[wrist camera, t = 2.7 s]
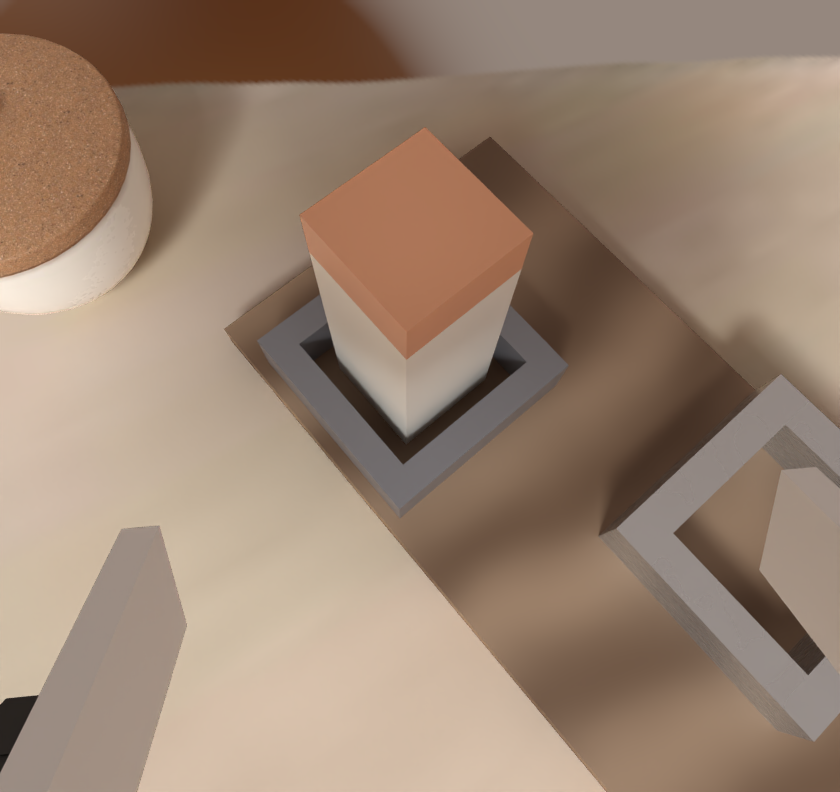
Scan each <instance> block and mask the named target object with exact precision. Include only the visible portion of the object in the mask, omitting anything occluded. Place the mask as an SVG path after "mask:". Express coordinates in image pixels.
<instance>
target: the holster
mask: <svg viewBox="0 0 840 792" xmlns="http://www.w3.org/2000/svg"><path fill="white" fill-rule="evenodd" d="M257 341H258V343H259V345H260V347H261V349H262V351H263V353H264V354H265V356H266V358H267V360H268V362H269V363H270V365H271V366H272V367H273V368H274V369H275V371H276V372H277V373H278V374H279V375H280V376H281V378H282V379H283V380H284V381H285V382H286V384H287V385H288V386H289V387H290V388H291V390H292V391H293V392H294V393H295V394H296V396H297V397H298V398H299V399H300V400H301V401H302V403H303V404H304V405H305V406H306V407H307V409H308V410H309V411H310V412H311V413H312V415H313V416H314V417H315V418H316V419H317V421H318V422H319V423H320V424H321V425H322V426H323V428H324V429H325V430H326V431H327V432H328V434H329V435H330V436H331V437H332V438H333V440H334V441H335V442H336V443H337V444H338V445H339V447H340V448H341V449H342V450H343V451H344V453H345V454H346V455H347V456H348V457H349V459H350V460H351V461H352V462H353V463H354V465H355V466H356V467H357V468H358V469H359V470H360V472H361V473H362V474H363V475H364V476H365V478H366V479H367V480H368V481H369V482H370V484H371V485H372V486H373V487H374V488H375V490H376V491H377V492H378V493H379V494H380V495H381V497H382V498H383V499H384V500H385V501H386V503H387V504H388V505H389V506H390V507H391V509H392V510H393V511H394V512H395V513H396V515H397V516H398V517H399V518H401V517H402V516H403V515H404V514H406V513H407V512H408V511H409V510H410V509H412V508H413V507H414V506H415V505H416V504H417V503H419V502H420V501H421V500H422V499H423V498H424V497H426V496H427V495H428V494H429V493H430V492H431V491H433V490H434V489H435V488H436V487H437V486H439V485H440V484H441V483H442V482H443V481H444V480H446V479H447V478H448V477H449V476H450V475H451V474H453V473H454V472H455V471H456V470H457V469H458V468H460V467H461V466H462V465H463V464H464V463H466V462H467V461H468V460H469V459H470V458H471V457H473V456H474V455H475V454H476V453H477V452H478V451H480V450H481V449H482V448H483V447H484V446H485V445H487V444H488V443H489V442H490V441H491V440H492V439H494V438H495V437H496V436H497V435H498V434H500V433H501V432H502V431H503V430H504V429H505V428H507V427H508V426H509V425H510V424H511V423H512V422H514V421H515V420H516V419H517V418H518V417H519V416H521V415H522V414H523V413H524V412H525V411H527V410H528V409H529V408H530V407H531V406H532V405H534V404H535V403H536V402H537V401H538V400H539V399H541V398H542V397H543V396H544V395H545V394H546V393H548V392H549V391H550V390H551V389H552V388H554V387H555V386H556V385H557V383H558V381H559V380H560V378H561V377H562V375H563V374H564V372H565V371H566V369H567V368H568V366H569V365H568V364H567V363H566V362H565V361H564V360H563V359H562V358H561V357H560V356H559V355H558V354H557V353H556V352H555V351H554V350H553V349H552V348H551V346H550V345H549V344H548V343H547V342H546V341H545V340H544V339H543V338H542V337H541V336H540V335H539V334H538V333H537V332H536V331H535V330H534V329H533V328H532V327H531V326H530V325H529V324H528V323H527V322H526V321H525V320H524V319H523V318H522V317H521V316H520V315H519V314H518V313H517V312H516V311H515V310H514V309H513V307H512V306H511V305H510V306H509V309H508V312H507V315H506V318H505V321H504V324H503V327H502V330H501V333H500V336H499V339H498V342H497V345H496V348H495V351H494V354H493V357H494V358H495V359H496V360H497V362H498V363H499V364H500V365H501V366H502V367H503V368H504V369H505V370H506V371H507V372H508V373H509V374H510V375H511V376H509V377H508V378H507V379H506V380H505V381H503V382H502V383H501V384H500V385H499V386H497V387H496V388H495V389H494V390H492V391H491V392H490V393H489V394H488V395H486V396H485V397H484V398H483V399H482V400H480V401H479V402H478V403H477V404H476V405H474V406H473V407H472V408H471V409H470V410H468V411H467V412H466V413H465V414H464V415H462V416H461V417H460V418H459V419H458V420H456V421H455V422H454V423H453V424H452V425H450V426H449V427H448V428H447V429H446V430H444V431H443V432H442V433H441V434H440V435H438V436H437V437H436V438H435V439H434V440H432V441H431V442H430V443H429V444H428V445H426V446H425V447H424V448H423V449H422V450H420V451H419V452H418V453H417V454H416V455H414V456H413V457H412V458H411V459H409V460H408V461H407V462H406V463H405V464H402V463H401V462H400V461H399V459H398V458H397V457H396V456H395V455H394V454H393V452H392V451H391V450H390V449H389V448H388V447H387V445H386V444H385V443H384V442H383V441H382V440H381V438H380V437H379V436H378V435H377V434H376V433H375V432H374V430H373V429H372V428H371V427H370V426H369V425H368V423H367V422H366V421H365V420H364V419H363V418H362V416H361V415H360V414H359V413H358V412H357V411H356V409H355V408H354V407H353V406H352V405H351V404H350V402H349V401H348V400H347V399H346V398H345V397H344V396H343V394H342V393H341V392H340V391H339V390H338V389H337V387H336V386H335V385H334V384H333V383H332V382H331V380H330V379H329V378H328V377H327V376H326V375H325V373H324V372H323V371H322V370H321V369H320V368H319V367H318V365H317V364H316V363H315V362H314V360H316V359H317V358H318V357H319V356H321V355H322V354H323V353H325V352H326V351H327V350H329V349H330V348H331V347H333V346H334V345H333V341H332V337H331V333H330V329H329V326H328V322H327V318H326V314H325V310H324V307H323V303H322V299H321V295H318V296H317V297H316V298H314V299H313V300H311V301H310V302H309V303H307V304H306V305H305V306H303V307H302V308H301V309H299V310H298V311H297V312H295V313H294V314H292V315H291V316H290V317H288V318H287V319H286V320H284V321H283V322H282V323H280V324H279V325H278V326H276V327H275V328H273V329H272V330H271V331H269V332H268V333H267V334H265V335H264V336H263V337H261V338H260V339H259V340H257Z"/></svg>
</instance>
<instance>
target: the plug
mask: <svg viewBox="0 0 840 792" xmlns="http://www.w3.org/2000/svg"><path fill="white" fill-rule="evenodd" d="M300 219H301V223H302V227H303V230H304V234H305V238H306V242H307V246H308V249H309V253H310V257H311V261H312V265H313V269H314V272H315V276H316V280H317V284H318V288H319V291H320V295H321V299H322V303H323V307H324V310H325V314H326V318H327V322H328V326H329V329H330V333H331V337H332V341H333V345H334V348H335V352H336V356H337V360H338V364H339V368H340V369H341V370H342V371H343V373H344V374H345V375H346V376H347V377H348V378H349V380H350V381H351V382H352V383H353V384H354V385H355V386H356V388H357V389H358V390H359V391H360V392H361V393H362V394H363V396H364V397H365V398H366V399H367V400H368V401H369V402H370V404H371V405H372V406H373V407H374V408H375V409H376V411H377V412H378V413H379V414H380V415H381V416H382V417H383V419H384V420H385V421H386V422H387V423H388V424H389V425H390V427H391V428H392V429H393V430H394V431H395V432H396V434H397V435H398V436H399V437H400V438H401V439H402V440H403V442H404V443H405V444H408V443H409V442H410V441H411V440H412V439H414V438H415V437H416V436H417V435H418V434H420V433H421V432H422V431H423V430H425V429H426V428H427V427H428V426H429V425H431V424H432V423H433V422H434V421H435V420H437V419H438V418H439V417H440V416H442V415H443V414H444V413H445V412H446V411H448V410H449V409H450V408H451V407H452V406H454V405H455V404H456V403H457V402H459V401H460V400H461V399H462V398H463V397H465V396H466V395H467V394H468V393H469V392H471V391H472V390H473V389H474V388H475V387H477V386H478V385H479V384H480V383H482V382H483V381H484V380H485V378H486V375H487V372H488V369H489V366H490V363H491V360H492V357H493V354H494V351H495V348H496V345H497V342H498V339H499V336H500V333H501V330H502V327H503V324H504V321H505V318H506V315H507V312H508V309H509V306H510V303H511V300H512V297H513V294H514V290H515V287H516V284H517V281H518V278H519V275H520V272H521V269H522V266H523V263H524V260H525V257H526V254H527V251H528V248H529V245H530V242H531V239H532V236H533V232H532V231H531V230H530V229H529V228H528V227H527V226H526V225H525V224H524V223H522V222H521V221H520V220H519V219H518V218H517V217H516V216H515V215H514V214H513V213H512V212H511V211H510V210H509V209H508V208H507V207H506V206H505V205H504V204H503V203H502V202H501V201H500V200H499V199H498V198H497V197H496V196H495V195H494V194H493V193H492V192H491V191H490V190H489V189H488V188H487V187H486V186H485V185H484V184H483V183H482V182H481V181H480V180H479V179H478V178H477V177H476V176H475V175H474V174H473V173H472V172H471V171H470V170H468V169H467V168H466V167H465V166H464V165H463V164H462V163H461V162H460V161H459V160H458V159H457V158H456V157H455V156H454V155H453V154H452V153H451V152H450V151H449V150H448V149H447V148H446V147H445V146H444V145H443V144H442V143H441V142H440V141H439V140H438V139H437V138H436V137H435V136H434V135H433V134H432V133H431V132H430V131H429V130H428V129H427V128H426V127H424V128H423V129H422V130H420V131H419V132H417V133H416V134H414V135H413V136H412V137H410V138H409V139H407V140H406V141H404V142H403V143H401V144H400V145H399V146H397V147H396V148H394V149H393V150H391V151H390V152H389V153H387V154H386V155H384V156H383V157H381V158H380V159H379V160H377V161H376V162H374V163H373V164H371V165H370V166H369V167H367V168H366V169H364V170H363V171H361V172H360V173H359V174H357V175H356V176H354V177H353V178H351V179H350V180H349V181H347V182H346V183H344V184H343V185H341V186H340V187H339V188H337V189H336V190H334V191H333V192H331V193H330V194H329V195H327V196H326V197H324V198H323V199H321V200H320V201H319V202H317V203H316V204H314V205H313V206H311V207H310V208H309V209H307V210H306V211H304V212H303V213H301V214H300Z"/></svg>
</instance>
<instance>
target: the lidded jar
mask: <svg viewBox="0 0 840 792" xmlns="http://www.w3.org/2000/svg"><path fill="white" fill-rule="evenodd" d="M152 207H153V197H152V190H151V184H150V178H149V173H148V170H147V167H146V164H145V161H144V158H143V155H142V152H141V149H140V147H139V144H138V142H137V140H136V138H135V135H134V133H133V131H132V129H131V128H130V126H129V124H128V122H127V119H126V116H125V113H124V110H123V108H122V105H121V104H120V102H119V100H118V98H117V96H116V95H115V93H114V91H113V89H112V88H111V86H110V84H109V83H108V81H107V80H106V79H105V77H104V76H103V75H102V74H101V73H100V72H99V70H98V69H97V68H96V67H95V66H94V65H92V64H91V63H89V61H87V60H86V59H85V58H84V57H82V56H81V55H79V54H77V53H75V52H73V51H72V50H70V49H68V48H66V47H64V46H62V45H59V44H56V43H54V42H51V41H48V40H45V39H41V38H36V37H32V36H28V35H18V34H0V311H1V312H6V313H16V314H28V315H37V314H50V313H56V312H61V311H66V310H70V309H73V308H76V307H79V306H82V305H85V304H87V303H89V302H91V301H93V300H95V299H97V298H99V297H101V296H102V295H104V294H105V293H107V292H108V291H110V290H111V289H113V288H114V287H115V286H116V285H117V284H118V283H119V282H121V281H122V280H123V279H124V278H125V276H126V275H127V274H128V273H129V272H130V271H131V269H132V268H133V267H134V265H135V264H136V262H137V260H138V259H139V257H140V255H141V253H142V251H143V249H144V247H145V244H146V242H147V239H148V236H149V232H150V228H151V223H152Z"/></svg>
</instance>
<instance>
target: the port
mask: <svg viewBox="0 0 840 792" xmlns="http://www.w3.org/2000/svg"><path fill="white" fill-rule="evenodd" d="M761 448H763V449H764V450H765V451H766V452H767V453H768V454H769V455H770V456H771V457H772V458H773V459H774V460H775V461H776V462H777V463H779V464H780V465H781V466H782V467H783V468H784V469H785V470H787V469H798V468H809V467H817V468H818V469H819V470H820V471H821V472H822V473H823V474H824V475H825V476H827V477H828V478H829V479H830V480H831V481H832V482H833V483H834V484H835V485H836V486H837V487H839V488H840V429H839V428H838V427H837V426H836V425H835V424H834V423H833V422H831V421H830V420H829V419H828V418H827V417H826V416H825V415H824V414H823V413H822V412H821V411H820V410H819V409H818V408H817V407H815V406H814V405H813V404H812V403H811V402H810V401H809V400H808V399H807V398H806V397H805V396H804V395H803V394H802V393H801V392H799V391H798V390H797V389H796V388H795V387H794V386H793V385H792V384H791V383H790V382H789V381H788V380H787V379H786V378H785V377H784V376H782V375H781V374H780V375H779V376H777V377H776V378H774V379H772V380H771V381H769V382H768V383H766V384H765V385H763V386H762V387H760V388H759V389H757V390H756V391H754V392H753V393H751V394H750V395H749V396H748V397H747V398H746V399H745V400H744V401H743V402H741V403H740V404H739V405H738V406H737V407H736V408H735V409H734V410H733V411H732V412H731V413H730V414H729V415H728V416H726V417H725V418H724V419H723V420H722V421H721V422H720V423H719V424H718V425H717V426H716V427H715V428H714V429H713V430H711V431H710V432H709V433H708V434H707V435H706V436H705V437H704V438H703V439H702V440H701V441H700V442H699V443H698V444H697V445H695V446H694V447H693V448H692V449H691V450H690V451H689V452H688V453H687V454H686V455H685V456H684V457H683V458H682V459H680V460H679V461H678V462H677V463H676V464H675V465H674V466H673V467H672V468H671V469H670V470H669V471H668V472H667V473H666V474H664V475H663V476H662V477H661V478H660V479H659V480H658V481H657V482H656V483H655V484H654V485H653V486H652V487H651V488H649V489H648V490H647V491H646V492H645V493H644V494H643V495H642V496H641V497H640V498H639V499H638V500H637V501H636V502H634V503H633V504H632V505H631V506H630V507H629V508H628V509H627V510H626V511H625V512H624V513H623V514H622V515H621V516H620V517H618V518H617V519H616V520H615V521H614V522H613V523H612V524H611V525H610V526H609V527H608V528H607V529H606V530H605V531H603V532H602V533H601V534H600V535H599V537H600V539H601V540H602V541H603V542H604V543H605V544H606V545H607V546H608V547H609V548H610V549H611V550H612V552H613V553H614V554H615V555H616V556H617V557H618V558H619V559H620V560H621V561H622V562H623V564H624V565H625V566H626V567H627V568H628V569H629V570H630V571H631V572H632V573H633V574H634V576H635V577H636V578H637V579H638V580H639V581H640V582H641V583H642V584H643V585H644V586H645V588H646V589H647V590H648V591H649V592H650V593H651V594H652V595H653V596H654V597H655V598H656V600H657V601H658V602H659V603H660V604H661V605H662V606H663V607H664V608H665V609H666V610H667V612H668V613H669V614H670V615H671V616H672V617H673V618H674V619H675V620H676V621H677V622H678V624H679V625H680V626H681V627H682V628H683V629H684V630H685V631H686V632H687V633H688V634H689V636H690V637H691V638H692V639H693V640H694V641H695V642H696V643H697V644H698V645H699V646H700V648H701V649H702V650H703V651H704V652H705V653H706V654H707V655H708V656H709V657H710V658H711V660H712V661H713V662H714V663H715V664H716V665H717V666H718V667H719V668H720V669H721V670H722V672H723V673H724V674H725V675H726V676H727V677H728V678H729V679H730V680H731V681H732V682H733V684H734V685H735V686H736V687H737V688H738V689H739V690H740V691H741V692H742V693H743V694H744V696H745V697H746V698H747V699H748V700H749V701H750V702H751V703H752V704H753V705H754V706H755V708H756V709H757V710H758V711H759V712H760V713H761V714H762V715H763V716H764V717H765V718H766V720H767V721H768V722H769V723H770V724H771V725H772V726H773V727H774V728H775V729H776V730H777V731H780V732H783V733H786V734H790V735H793V736H796V737H800V738H803V739H806V740H810V741H813V742H814V741H815V740H816V739H817V738H818V737H819V736H820V735H821V734H822V732H823V731H824V730H825V729H826V728H827V727H828V726H829V724H830V723H831V722H832V721H833V720H834V719H835V718H836V717H837V715H838V714H839V713H840V675H839V673H838V672H837V671H836V669H835V668H834V667H833V665H832V664H831V663H830V662H829V660H828V659H827V658H826V656H825V655H824V654H823V652H822V651H821V650H820V649H819V647H818V646H817V645H816V643H815V642H814V641H813V639H812V638H811V637H810V636H809V634H808V633H806V634H805V635H804V637H803V638H802V639H801V640H800V641H799V642H798V643H797V644H796V645H795V646H794V647H793V648H792V650H791V651H790V652H789V653H788V654H787V653H786V652H785V651H784V649H783V648H782V647H781V646H780V645H779V644H778V643H777V642H776V641H775V640H774V639H773V638H772V637H771V636H770V635H769V634H768V633H767V632H766V631H765V629H764V628H763V627H762V626H761V625H760V624H759V623H758V622H757V621H756V620H755V619H754V618H753V617H752V616H751V615H750V614H749V613H748V612H747V611H746V609H745V608H744V607H743V606H742V605H741V604H740V603H739V602H738V601H737V600H736V599H735V598H734V597H733V596H732V595H731V594H730V593H729V592H728V591H727V589H726V588H725V587H724V586H723V585H722V584H721V583H720V582H719V581H718V580H717V579H716V578H715V577H714V576H713V575H712V574H711V573H710V572H709V571H708V569H707V568H706V567H705V566H704V565H703V564H702V563H701V562H700V561H699V560H698V559H697V558H696V557H695V556H694V555H693V554H692V553H691V552H690V550H689V549H688V548H687V547H686V546H685V545H684V544H683V543H682V542H681V541H680V540H679V539H678V538H677V537H676V536H675V535H674V534H673V533H674V532H675V531H676V530H677V529H678V528H679V527H680V526H681V525H682V524H683V523H684V522H685V521H686V520H687V519H688V518H689V517H690V516H691V515H692V514H693V513H694V512H695V511H696V510H698V509H699V508H700V507H701V506H702V505H703V504H704V503H705V502H706V501H707V500H708V499H709V498H710V497H711V496H712V495H713V494H714V493H715V492H716V491H717V490H718V489H719V488H720V487H721V486H722V485H723V484H724V483H725V482H727V481H728V480H729V479H730V478H731V477H732V476H733V475H734V474H735V473H736V472H737V471H738V470H739V469H740V468H741V467H742V466H743V465H744V464H745V463H746V462H747V461H748V460H749V459H750V458H751V457H752V456H753V455H754V454H756V453H757V452H758V451H759V450H760V449H761Z"/></svg>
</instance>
